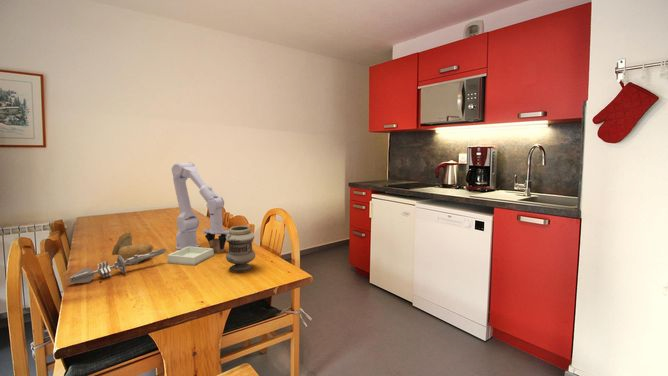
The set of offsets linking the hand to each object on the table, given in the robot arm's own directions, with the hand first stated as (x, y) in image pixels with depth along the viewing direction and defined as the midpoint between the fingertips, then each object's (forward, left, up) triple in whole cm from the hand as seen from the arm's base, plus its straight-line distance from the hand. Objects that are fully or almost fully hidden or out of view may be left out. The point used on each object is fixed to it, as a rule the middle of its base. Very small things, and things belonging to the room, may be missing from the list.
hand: (217, 248), depth 162 cm
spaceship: (-21, -35, -2) cm, 41 cm away
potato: (-27, -22, -2) cm, 35 cm away
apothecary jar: (+24, -18, -2) cm, 30 cm away
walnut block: (0, 0, -2) cm, 2 cm away
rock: (-46, -12, -2) cm, 48 cm away
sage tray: (-5, -13, -2) cm, 14 cm away
